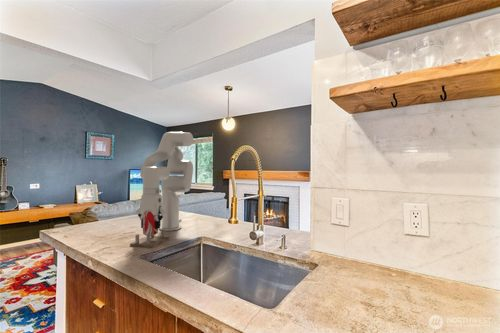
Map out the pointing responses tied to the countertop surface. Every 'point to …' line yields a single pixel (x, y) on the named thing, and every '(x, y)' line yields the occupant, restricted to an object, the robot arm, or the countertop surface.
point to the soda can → (149, 224)
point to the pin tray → (150, 240)
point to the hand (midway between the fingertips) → (150, 227)
